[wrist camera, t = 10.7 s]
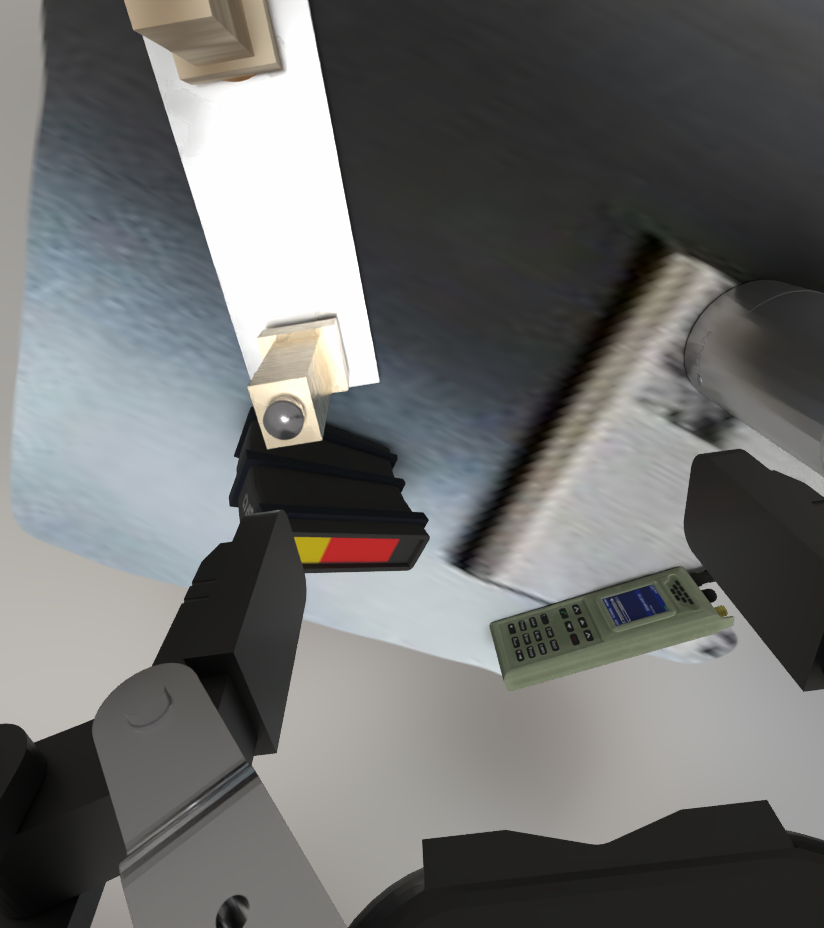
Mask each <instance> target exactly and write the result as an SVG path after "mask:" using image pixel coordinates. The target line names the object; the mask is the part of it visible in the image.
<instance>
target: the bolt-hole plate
mask: <svg viewBox="0 0 824 928" xmlns="http://www.w3.org/2000/svg"><path fill="white" fill-rule="evenodd" d="M267 1H268V6H269V11H270V15H271V20H272V25H273V29H274V34H275V38H276V43H277V48H278V52H279V57H280V61H281V66H282V69H281V70H275V71H270V72H264V73H258V74H252V75H247V76H241V77H235V78H229V79H224V80H218V81H212V82H206V83H201V84H195V85H190V84H188V83H186V82H184V81H182V80H180V79H179V75H178V72H177V69H176V65H175V62H174V58H173V55H172V52H171V51H169V50H167V49H165V48H164V47H162V46H160V45H159V44H157V43H155V42H153V41H152V40H150V39H148V38H147V37H145V36H143V39H144V42H145V45H146V48H147V51H148V55H149V58H150V61H151V64H152V67H153V70H154V74H155V77H156V80H157V83H158V86H159V90H160V93H161V96H162V99H163V102H164V106H165V109H166V112H167V115H168V118H169V121H170V125H171V128H172V131H173V134H174V137H175V141H176V144H177V147H178V150H179V153H180V157H181V160H182V163H183V166H184V169H185V172H186V176H187V179H188V182H189V185H190V188H191V192H192V195H193V198H194V201H195V204H196V208H197V211H198V214H199V217H200V220H201V223H202V227H203V230H204V233H205V236H206V239H207V243H208V246H209V249H210V252H211V255H212V259H213V262H214V265H215V268H216V271H217V274H218V278H219V281H220V284H221V287H222V290H223V294H224V297H225V300H226V303H227V306H228V310H229V313H230V316H231V319H232V322H233V325H234V329H235V332H236V335H237V338H238V341H239V345H240V348H241V351H242V354H243V357H244V361H245V364H246V367H247V370H248V373H249V376H250V380H251V381H250V383H249V385H248V386H247V387H248V390H249V393H250V397H251V400H252V403H253V406H254V409H255V412H256V415H257V419H258V422H259V425H260V428H261V431H262V434H263V437H264V440H265V444H266V447H267V449H271V448H277V447H284V446H290V445H296V444H302V443H308V442H315V441H321V440H322V439H323V434H324V428H325V423H326V418H327V413H328V408H329V403H330V397H331V393H335V392H341V391H347V390H349V387H353V386H359V385H365V384H372V383H378V382H380V378H379V371H378V366H377V361H376V355H375V350H374V345H373V339H372V334H371V329H370V323H369V318H368V313H367V307H366V302H365V297H364V291H363V286H362V281H361V275H360V270H359V265H358V259H357V254H356V249H355V243H354V238H353V233H352V227H351V222H350V217H349V211H348V206H347V201H346V195H345V190H344V185H343V179H342V174H341V169H340V163H339V158H338V153H337V147H336V142H335V137H334V131H333V126H332V121H331V115H330V110H329V105H328V99H327V94H326V89H325V83H324V78H323V73H322V67H321V62H320V57H319V51H318V46H317V41H316V35H315V30H314V25H313V19H312V14H311V9H310V3H309V0H267Z"/></svg>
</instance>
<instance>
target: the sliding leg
mask: <svg viewBox="0 0 824 928" xmlns="http://www.w3.org/2000/svg"><path fill="white" fill-rule="evenodd" d="M124 2H125V5H126V8H127V11H128V14H129V17H130V20H131V24H132V27H133V30H135V31H136V32H138V33H140V34H141V35H143V36H145V37H147V38H148V39H150V40H152V41H153V42H155V43H157V44H159V45H160V46H162V47H164V48H165V49H167V50H169V51H171V52H172V55H173V58H174V62H175V65H176V69H177V72H178V75H179V79H180V80H182V81H184V82H186V83H188V84H190V85H195V84H201V83H206V82H212V81H218V80H224V79H229V78H235V77H241V76H247V75H252V74H258V73H264V72H270V71H275V70H281V69H282V66H281V61H280V57H279V52H278V48H277V43H276V38H275V34H274V29H273V25H272V20H271V15H270V11H269V6H268V1H267V0H124Z"/></svg>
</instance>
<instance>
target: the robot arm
mask: <svg viewBox="0 0 824 928" xmlns="http://www.w3.org/2000/svg"><path fill="white" fill-rule="evenodd" d="M685 368H686V373H687V376H688V378H689V380H690V382H691V384H692V385H693V386H694V387H695V388H696V389H697V390H698V391H699V392H700V393H701V394H703V395H704V396H706V397H707V398H709V399H710V400H711V401H713V402H714V403H716V404H717V405H719V406H720V407H722V408H723V409H725V410H726V411H727V412H729V413H730V414H732V415H733V416H735V417H736V418H737V419H739V420H740V421H742V422H743V423H745V424H746V425H748V426H749V427H751V428H752V429H754V430H755V431H757V432H758V433H759V434H761V435H762V436H764V437H765V438H767V439H768V440H770V441H771V442H773V443H774V444H776V445H777V446H779V447H780V448H782V449H783V450H784V451H786V452H787V453H789V454H790V455H792V456H793V457H795V458H796V459H798V460H799V461H801V462H802V463H804V464H805V465H806V466H808V467H809V468H811V469H812V470H814V471H815V472H817V473H818V474H820V475H821V476H823V477H824V294H823V293H820V292H817V291H813V290H809V289H806V288H802V287H798V286H795V285H791V284H787V283H784V282H780V281H776V280H758V281H751V282H748V283H745V284H742V285H739V286H737V287H735V288H733V289H731V290H730V291H728V292H726V293H724V294H723V295H721V296H720V297H719V298H718V299H717V300H715V301H714V302H713V303H712V304H711V305H710V306H709V307H708V308H707V309H706V310H705V311H704V312H703V314H702V315H701V316H700V317H699V319H698V321H697V322H696V324H695V325H694V327H693V329H692V331H691V333H690V336H689V338H688V341H687V345H686V350H685ZM684 532H685V536H686V540H687V543H688V545H689V547H690V549H691V551H692V552H693V554H694V555H695V556H696V557H697V559H698V560H699V561H700V562H701V564H702V565H703V566H704V567H705V569H706V570H707V571H708V572H709V574H710V575H711V576H712V577H713V579H714V580H715V581H716V582H717V584H718V585H719V586H720V587H721V589H722V590H723V591H724V592H725V594H726V595H727V596H728V597H729V599H730V600H731V601H732V603H733V604H734V605H735V606H736V608H737V609H738V610H739V611H740V613H741V614H742V615H743V616H744V618H745V619H746V620H747V621H748V623H749V624H750V625H751V626H752V628H753V629H754V630H755V631H756V632H757V634H758V635H759V636H760V638H761V639H762V640H763V641H764V643H765V644H766V645H767V646H768V648H769V649H770V650H771V651H772V653H773V654H774V655H775V656H776V658H777V659H778V660H779V661H780V663H781V664H782V665H783V666H784V668H785V669H786V670H787V672H788V673H789V674H790V675H791V676H792V678H793V679H794V680H795V682H796V683H797V684H798V685H799V687H800V688H801V689H802V690H803V691H812V690H820V689H824V497H823V496H821V495H820V494H819V493H817V492H816V491H815V490H813V489H812V488H811V487H809V486H808V485H807V484H805V483H803V482H801V481H799V480H796V479H794V478H792V477H789V476H787V475H784V474H782V473H780V472H777V471H775V470H773V471H770V470H769V469H768V468H767V467H765V466H764V465H763V464H762V463H760V462H759V461H758V460H756V459H755V458H754V457H753V456H751V455H750V454H749V453H748V452H746V451H745V450H742V449H734V450H727V451H719V452H712V453H704V454H699V455H697V456H696V457H695V458H694V460H693V462H692V466H691V473H690V480H689V487H688V494H687V501H686V509H685V516H684ZM305 602H306V579H305V573H304V569H303V566H302V562H301V559H300V556H299V552H298V549H297V546H296V542H295V539H294V536H293V532H292V529H291V526H290V523H289V519H288V517H287V514H286V513H285V511H284V510H276V511H269V512H261V513H254V514H246V515H244V516H243V518H242V520H241V522H240V524H239V527H238V529H237V531H236V534H235V536H234V539H233V541H232V542H227V543H220V544H219V545H218V546H217V547H216V548H215V549H214V550H213V551H212V552H211V553H210V554H209V555H208V556H207V557H206V558H205V559H204V560H203V561H202V562H201V564H200V566H199V568H198V571H197V573H196V575H195V577H194V579H193V581H192V586H190V587H189V589H188V591H187V594H186V596H185V598H184V603H182V604H181V606H180V608H179V611H178V613H177V615H176V617H175V619H174V621H173V623H172V625H171V627H170V629H169V632H168V633H167V636H166V638H165V640H164V642H163V644H162V646H161V648H160V650H159V652H158V655H157V657H156V659H155V661H154V663H153V665H152V667H149V668H147V669H144V670H142V671H140V672H139V673H136V674H134V675H133V676H131V677H130V678H128V679H127V680H125V681H124V682H123V683H121V684H120V685H119V686H118V687H117V688H116V689H115V690H113V691H112V692H111V693H110V695H109V696H108V697H107V698H106V699H105V700H104V702H103V703H102V705H101V706H100V708H99V709H98V712H97V714H96V716H95V719H93V720H90V721H88V722H86V723H83V724H81V725H78V726H75V727H73V728H71V729H68V730H65V731H63V732H60V733H58V734H55V735H53V736H50V737H47V738H45V739H42V740H40V741H37V742H35V743H33V741H32V740H31V739H30V738H29V737H28V735H27V734H26V733H25V731H24V730H23V729H22V728H21V727H19V726H17V725H14V724H0V928H90V926H91V923H92V921H93V917H94V915H95V912H96V909H97V906H98V903H99V900H100V898H101V895H102V892H103V889H104V886H105V883H106V882H107V881H109V880H111V879H113V878H115V877H117V876H120V878H121V883H122V886H123V890H124V894H125V898H126V901H127V904H128V908H129V912H130V916H131V920H132V923H133V927H134V928H347V926H346V924H345V923H344V921H343V919H342V918H341V916H340V914H339V912H338V911H337V909H336V907H335V906H334V904H333V902H332V901H331V899H330V897H329V895H328V894H327V892H326V891H325V889H324V887H323V885H322V884H321V882H320V880H319V879H318V877H317V875H316V873H315V872H314V870H313V868H312V866H311V865H310V863H309V861H308V860H307V858H306V856H305V855H304V853H303V851H302V850H301V848H300V846H299V845H298V843H297V841H296V839H295V837H294V836H293V834H292V832H291V831H290V829H289V827H288V826H287V824H286V822H285V820H284V819H283V817H282V815H281V814H280V812H279V810H278V808H277V807H276V805H275V803H274V802H273V800H272V798H271V797H270V795H269V793H268V791H267V790H266V788H265V786H264V785H263V783H262V781H261V780H260V778H259V776H258V775H257V773H256V771H255V770H254V768H253V767H252V761H253V756H257V755H265V754H273V753H277V748H278V743H279V738H280V733H281V728H282V722H283V717H284V711H285V706H286V701H287V696H288V691H289V686H290V680H291V675H292V670H293V665H294V660H295V654H296V649H297V644H298V639H299V633H300V628H301V623H302V618H303V613H304V608H305ZM422 845H423V865H424V867H423V868H421V869H419V870H417V871H415V872H412V873H410V874H408V875H407V876H405V877H403V878H402V879H400V880H399V881H397V882H395V883H394V884H392V885H391V886H389V887H388V888H387V889H386V890H384V891H383V892H382V893H381V894H380V895H378V896H377V897H376V898H375V899H374V900H372V901H371V902H370V903H369V904H368V905H367V907H366V908H364V910H363V911H362V912H361V913H360V914H359V915H358V916H357V917H356V918H355V919H354V920H353V922H352V923H351V924H350V926H349V927H348V928H824V841H823V840H821V839H818V838H814V837H811V836H807V835H804V834H800V833H796V832H792V831H787V830H785V829H784V827H783V826H782V824H781V822H780V821H779V819H778V818H777V816H776V815H775V812H774V811H773V809H772V807H771V806H770V804H769V803H768V801H767V800H762V801H753V802H744V803H736V804H727V805H718V806H710V807H701V808H692V809H683V810H679V811H677V812H675V813H673V814H671V815H668V816H666V817H664V818H662V819H660V820H657V821H655V822H653V823H651V824H649V825H646V826H644V827H642V828H640V829H638V830H635V831H633V832H631V833H629V834H627V835H624V836H622V837H620V838H618V839H615V840H613V841H611V842H609V843H606V844H600V845H593V844H586V843H580V842H574V841H568V840H562V839H556V838H550V837H544V836H538V835H533V834H527V833H520V832H515V831H509V830H501V831H493V832H484V833H475V834H466V835H458V836H449V837H441V838H431V839H423V840H422Z"/></svg>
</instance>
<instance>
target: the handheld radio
mask: <svg viewBox="0 0 824 928" xmlns="http://www.w3.org/2000/svg"><path fill="white" fill-rule="evenodd" d="M708 582H710V583H711V582H715V580H714V579H713V577H712V576H711V575H710V574H709V572H708V571H707V570H704V572H700V573H692V574H688V572H687V571H686V570H685V568H684V567H677V568H674V569H671V570H667V571H664V572H661V573H657V574H654V575H650V576H647V577H644V578H640V579H637V580H634V581H630V582H627V583H624V584H620V585H617V586H614V587H610V588H607V589H603V590H600V591H597V592H593V593H590V594H587V595H583V596H580V597H577V598H573V599H570V600H566V601H563V602H560V603H556V604H553V605H550V606H546V607H543V608H540V609H536V610H533V611H530V612H526V613H523V614H519V615H516V616H513V617H509V618H506V619H503V620H499V621H496V622H493V623H491V624H490V630H491V634H492V637H493V641H494V645H495V649H496V653H497V657H498V661H499V665H500V669H501V673H502V676H503V680H504V683H505V685H506V687H507V689H508V690H509V691H514V690H517V689H521V688H524V687H528V686H531V685H535V684H539V683H542V682H546V681H549V680H553V679H556V678H560V677H563V676H567V675H570V674H573V673H577V672H581V671H584V670H588V669H592V668H595V667H599V666H602V665H606V664H609V663H613V662H616V661H620V660H623V659H627V658H630V657H634V656H638V655H641V654H645V653H648V652H652V651H655V650H659V649H662V648H666V647H669V646H673V645H676V644H680V643H684V642H687V641H691V640H694V639H698V638H701V637H705V636H708V635H712V634H715V633H718V632H719V631H721V630H723V629H725V628H728V627H731V626H733V625H734V617H733V616H730V617H724V616H727V614H728V613H727V610H726V608H725V607H724V606H722V605H721V606H718V607H715V608H714V607H713V606H712V605H711V603H712V602H714V601H715V600H716V599H717V595H716V593H715V591H714V590H712V589H705V590H700V589H699V586H702V584H705V583H708Z"/></svg>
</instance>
